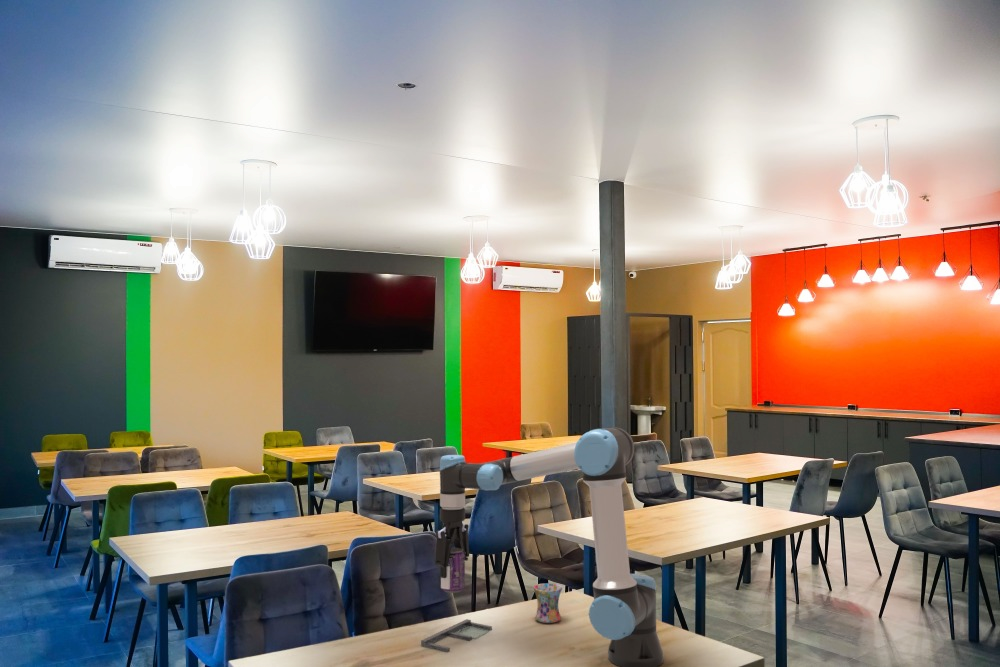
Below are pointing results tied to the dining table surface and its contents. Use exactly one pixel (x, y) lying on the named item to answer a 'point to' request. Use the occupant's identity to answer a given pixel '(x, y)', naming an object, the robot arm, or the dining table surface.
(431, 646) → the grey flat frame
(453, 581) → the beverage can
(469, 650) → the dining table surface
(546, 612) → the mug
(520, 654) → the dining table surface
